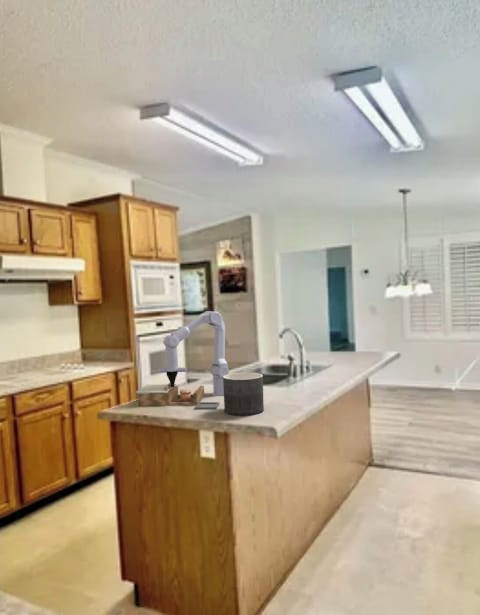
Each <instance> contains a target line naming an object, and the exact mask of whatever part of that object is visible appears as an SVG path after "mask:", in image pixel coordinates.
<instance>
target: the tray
mask: <svg viewBox="0 0 480 615" xmlns="http://www.w3.org/2000/svg"><path fill="white" fill-rule="evenodd" d="M219 406H220V402H219V401H212V402H211V401H207V402H205V401H204V402H202V401H200V402H199V403H198V404H197V405H194V410H217V409H218V407H219Z"/></svg>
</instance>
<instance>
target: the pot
mask: <svg viewBox="0 0 480 615" xmlns="http://www.w3.org/2000/svg"><path fill="white" fill-rule="evenodd" d="M179 394H180V398H181V402H190V401H191V394H192V390H190V389H182V390H179Z"/></svg>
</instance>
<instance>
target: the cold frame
mask: <svg viewBox="0 0 480 615" xmlns="http://www.w3.org/2000/svg"><path fill="white" fill-rule="evenodd" d="M137 398H138V400H137V402H138V407H141V406H142V407H144V406H146V407H147V406H148V407H150V406H153V407H156V406H157V407H160V406H161V407H165V406H167V407H168V406H169V407H170V406H171V407H172V406H179V407H180V406H182V407H183V406H187V407H188V406H196V405H197V404H198V403H199V402H202V400H204V398H205V386H204V385H200V386H199V387H198V388H197V389H196V390H195V391H194V392H193V394H192V393H191V401H190V402H181V398H180V393H179V386H178V385H176V386H175V387H173V388H172V389H171V390H170V391H168V392H167V393H137Z"/></svg>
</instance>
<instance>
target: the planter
mask: <svg viewBox="0 0 480 615" xmlns="http://www.w3.org/2000/svg"><path fill="white" fill-rule="evenodd" d="M223 386H224V396H223V404H224V406H223V408H224V409H223V411H224V413H225V414H227V415H232V416H241V417H242V416H244V417H245V416H253V415H254V416H255V415H258V414H261V413H263V412H264V410H265V407H264V375H263V374H261V373H257V372H236V373H235V372H234V373H229V374H228V375H225V376H223Z"/></svg>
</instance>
